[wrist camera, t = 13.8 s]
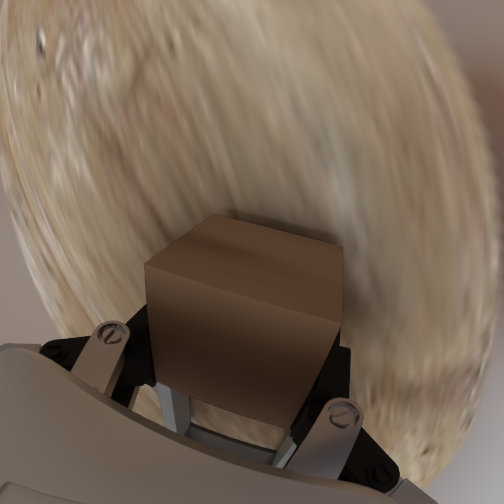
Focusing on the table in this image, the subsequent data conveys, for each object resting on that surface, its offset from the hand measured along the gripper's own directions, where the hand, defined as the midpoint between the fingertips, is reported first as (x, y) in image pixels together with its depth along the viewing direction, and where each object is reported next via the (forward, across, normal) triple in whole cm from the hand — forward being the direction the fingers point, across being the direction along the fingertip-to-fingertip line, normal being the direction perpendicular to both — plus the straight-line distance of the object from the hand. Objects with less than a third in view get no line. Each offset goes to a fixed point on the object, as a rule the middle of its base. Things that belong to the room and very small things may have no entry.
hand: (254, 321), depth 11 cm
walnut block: (+1, 0, -1) cm, 2 cm away
